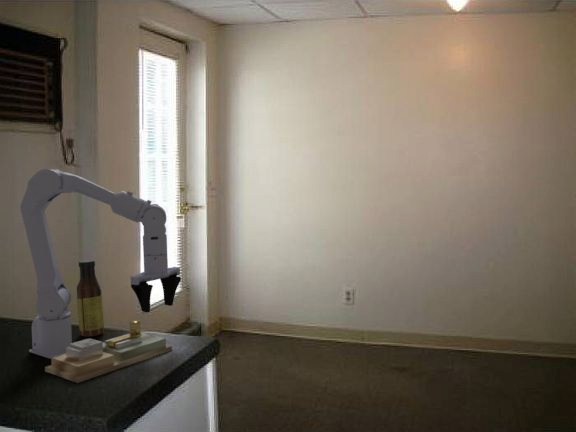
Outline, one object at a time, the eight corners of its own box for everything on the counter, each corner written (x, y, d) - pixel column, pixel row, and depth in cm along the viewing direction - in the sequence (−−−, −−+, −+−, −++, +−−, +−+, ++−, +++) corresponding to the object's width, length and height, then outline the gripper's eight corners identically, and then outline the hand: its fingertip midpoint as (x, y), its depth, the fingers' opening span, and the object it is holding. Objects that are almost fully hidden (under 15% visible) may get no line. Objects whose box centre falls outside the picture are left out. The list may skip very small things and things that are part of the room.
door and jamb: (45, 371, 128) (44, 358, 127) (139, 341, 148) (139, 330, 148) (77, 383, 121) (76, 368, 120) (172, 350, 141) (171, 338, 141)
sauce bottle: (109, 332, 157) (106, 259, 156) (94, 338, 151) (91, 263, 150) (88, 330, 160) (85, 258, 158) (73, 336, 154) (70, 262, 152)
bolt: (108, 345, 135) (107, 327, 135) (136, 336, 141) (135, 319, 141) (114, 347, 133) (113, 329, 133) (142, 338, 140) (142, 321, 140)
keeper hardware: (66, 357, 128) (65, 344, 127) (129, 338, 141) (128, 327, 141) (79, 361, 125) (78, 348, 125) (142, 341, 138) (141, 330, 138)
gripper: (143, 259, 135) (146, 317, 136) (188, 251, 147) (189, 304, 148) (123, 257, 139) (126, 313, 140) (168, 249, 151) (170, 300, 152)
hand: (157, 308), depth 144 cm, fingers open, 7 cm apart
